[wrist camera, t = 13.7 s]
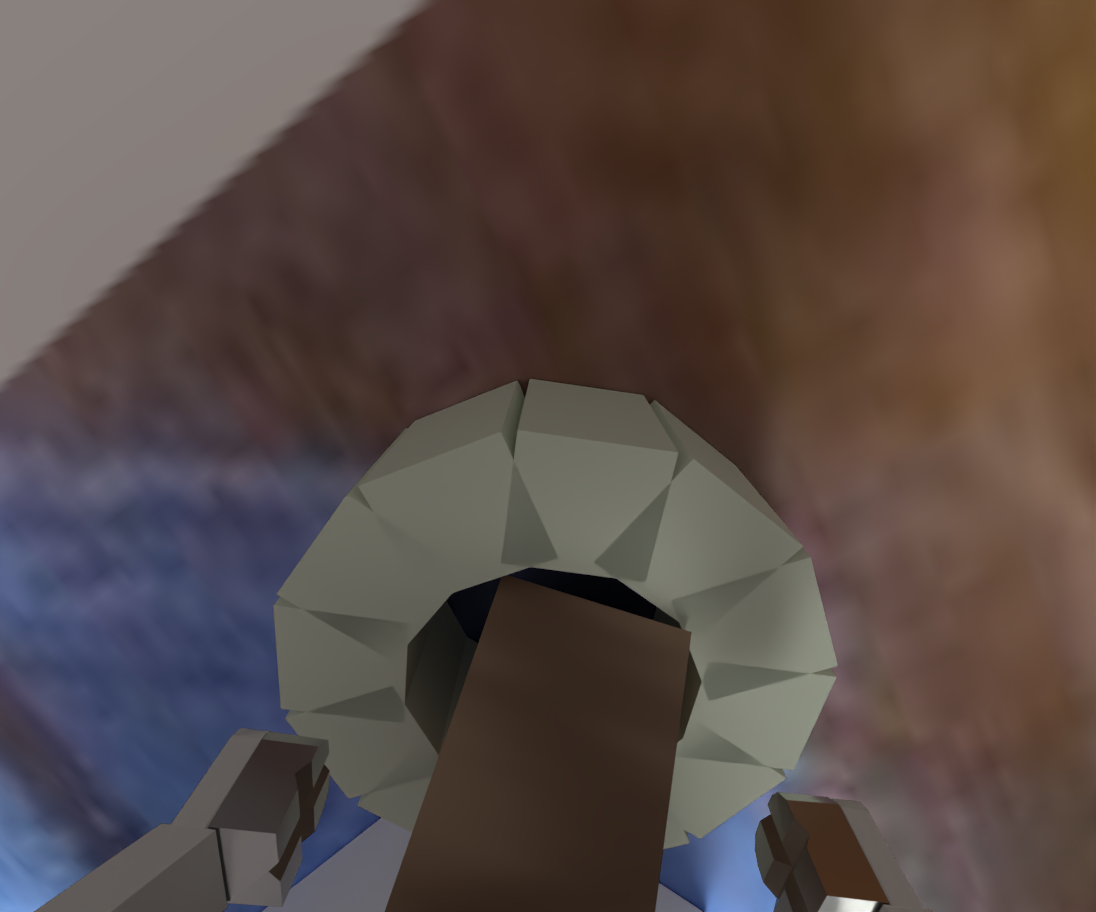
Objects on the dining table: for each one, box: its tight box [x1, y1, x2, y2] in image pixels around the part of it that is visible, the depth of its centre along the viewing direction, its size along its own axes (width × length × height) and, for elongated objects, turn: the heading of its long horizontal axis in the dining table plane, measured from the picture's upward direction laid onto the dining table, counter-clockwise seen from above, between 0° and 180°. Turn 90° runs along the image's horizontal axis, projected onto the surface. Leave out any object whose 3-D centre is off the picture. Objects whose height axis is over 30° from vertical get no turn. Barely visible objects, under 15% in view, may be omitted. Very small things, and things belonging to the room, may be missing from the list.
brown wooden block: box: [385, 575, 692, 912], centre depth 10 cm, size 4×4×9 cm
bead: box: [273, 379, 838, 849], centre depth 13 cm, size 12×12×4 cm
